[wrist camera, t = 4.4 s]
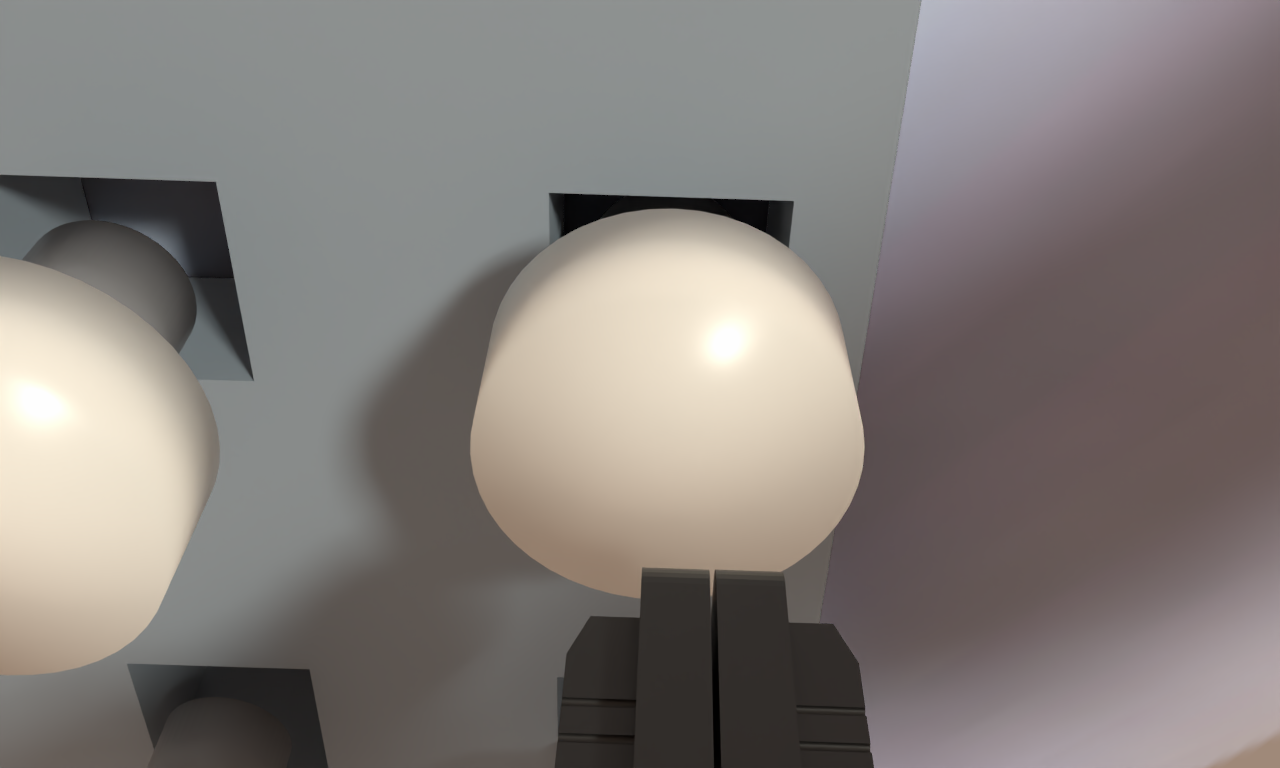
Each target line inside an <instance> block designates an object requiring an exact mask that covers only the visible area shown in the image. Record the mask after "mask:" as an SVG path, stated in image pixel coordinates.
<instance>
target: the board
mask: <svg viewBox="0 0 1280 768" xmlns="http://www.w3.org/2000/svg"><path fill="white" fill-rule="evenodd" d="M920 6H921V0H0V256H3V257H8V258H13V259H18V260H22V259H23V258H24V257H25V256H26V254H27V253H28V252H29V251H30V250H31V248H32V247H33V246H34V245H35V244H36V242H37V241H38V240H39V239H40V238H41V237H42V236H43V235H44V234H46V233H47V232H49V231H50V230H52V229H54V228H56V227H58V226H60V225H63V224H66V223H70V222H75V221H82V220H91V217H90V213H89V209H88V206H87V202H86V198H85V194H84V190H83V187H82V183H81V179H80V177H87V178H117V179H147V180H177V181H207V182H216V185H217V190H218V196H219V201H220V206H221V211H222V216H223V222H224V227H225V232H226V237H227V242H228V248H229V253H230V258H231V263H232V269H233V274H234V279H231V278H200V277H188V278H189V280H190V282H191V285H192V287H193V290H194V293H195V297H196V304H197V316H196V321H195V325H194V327H193V330H192V332H191V334H190V336H189V337H188V339H187V341H186V343H185V345H184V346H183V348H182V350H181V352H180V353H179V355H180V356H181V357H182V359H183V360H184V361H185V362H186V364H187V365H188V366H189V368H190V369H191V371H192V372H193V374H194V375H195V377H196V379H197V380H198V382H199V383H200V385H201V386H202V389H203V391H204V393H205V395H206V397H207V399H208V401H209V404H210V406H211V408H212V412H213V415H214V418H215V421H216V425H217V429H218V436H219V444H220V459H219V469H218V474H217V478H216V483H215V485H214V487H213V490H212V492H211V494H210V497H209V499H208V501H207V504H206V506H205V508H204V510H203V512H202V515H201V517H200V519H199V521H198V523H197V525H196V528H195V530H194V532H193V534H192V536H191V539H190V541H189V543H188V545H187V547H186V550H185V552H184V554H183V556H182V558H181V561H180V563H179V565H178V567H177V569H176V572H175V574H174V576H173V578H172V580H171V583H170V585H169V587H168V589H167V591H166V594H165V596H164V598H163V600H162V602H161V605H160V607H159V609H158V611H157V613H156V614H155V616H154V617H153V619H152V620H151V622H150V623H149V625H148V626H147V627H146V628H145V629H144V630H143V631H142V632H141V633H140V634H139V635H138V636H137V637H136V638H135V639H134V640H133V641H132V642H130V643H129V644H128V645H126V646H125V647H123V648H122V649H120V650H119V651H118V652H116V653H114V654H112V655H110V656H107V657H105V658H103V659H101V660H99V661H97V662H94V663H91V664H88V665H85V666H82V667H79V668H75V669H70V670H65V671H61V672H56V673H46V674H37V675H0V768H147V767H148V764H149V762H150V759H151V757H152V755H153V752H154V750H155V747H156V745H157V742H158V740H159V737H160V735H161V732H162V730H163V728H164V725H165V723H166V720H167V718H168V716H169V715H170V713H171V712H172V711H173V710H174V709H175V708H177V707H178V706H180V705H181V704H183V703H185V702H188V701H191V700H194V699H199V698H205V697H225V698H232V699H237V700H241V701H245V702H248V703H251V704H253V705H256V706H258V707H260V708H262V709H264V710H266V711H267V712H269V713H270V714H272V715H273V716H275V717H276V718H277V719H278V720H279V721H280V722H281V723H282V724H283V725H284V727H285V728H286V729H287V731H288V733H289V735H290V738H291V742H292V749H291V753H290V757H289V760H288V763H287V767H286V768H555V758H556V749H557V742H558V730H559V720H560V711H561V706H562V691H563V682H564V672H565V663H566V653H567V652H568V650H569V649H570V647H571V646H572V644H573V642H574V641H575V639H576V638H577V636H578V635H579V633H580V631H581V630H582V628H583V627H584V625H585V624H586V622H587V621H588V619H589V617H590V616H607V617H635V618H640V601H641V598H633V597H627V596H621V595H616V594H611V593H607V592H604V591H600V590H596V589H593V588H590V587H587V586H584V585H582V584H579V583H577V582H574V581H571V580H569V579H567V578H565V577H563V576H561V575H559V574H557V573H555V572H553V571H551V570H549V569H548V568H546V567H545V566H543V565H542V564H540V563H539V562H537V561H536V560H534V559H533V558H531V557H530V556H529V555H527V554H526V553H525V552H524V551H523V550H522V549H520V548H519V547H518V546H517V545H516V544H514V543H513V541H512V540H511V539H510V538H509V537H508V536H507V535H506V534H505V533H504V532H503V531H502V530H501V528H500V527H499V526H498V524H497V523H496V521H495V520H494V519H493V517H492V516H491V514H490V513H489V511H488V509H487V507H486V505H485V503H484V501H483V500H482V498H481V496H480V494H479V491H478V487H477V484H476V481H475V478H474V475H473V469H472V463H471V456H470V441H471V430H472V425H473V419H474V414H475V409H476V404H477V399H478V395H479V390H480V385H481V380H482V375H483V371H484V366H485V361H486V356H487V351H488V347H489V342H490V337H491V332H492V327H493V323H494V320H495V317H496V314H497V312H498V309H499V306H500V304H501V302H502V300H503V298H504V296H505V294H506V293H507V291H508V289H509V287H510V285H511V284H512V283H513V282H514V280H515V279H516V278H517V276H518V275H519V274H520V272H521V271H522V270H523V269H524V268H525V267H526V266H527V265H528V264H529V263H530V262H531V261H532V260H533V259H534V258H535V257H536V256H537V255H538V254H539V253H540V252H541V251H543V250H544V249H546V248H547V247H548V246H550V245H551V244H552V243H554V242H555V241H556V240H558V239H560V238H561V237H563V236H564V193H569V194H599V195H629V196H659V197H689V198H719V199H750V200H769V208H768V218H767V228H766V234H768V235H770V236H772V237H773V238H775V239H776V240H778V241H779V242H781V243H782V244H784V245H785V246H787V247H788V248H789V249H791V250H792V251H793V252H794V253H795V254H796V255H797V256H798V257H800V258H801V259H802V260H803V261H804V262H805V263H806V264H807V265H808V266H809V267H810V269H811V270H812V271H813V272H814V273H815V274H816V276H817V277H818V278H819V279H820V281H821V282H822V284H823V286H824V287H825V289H826V290H827V292H828V293H829V295H830V297H831V299H832V301H833V304H834V306H835V308H836V311H837V313H838V315H839V319H840V323H841V327H842V331H843V335H844V340H845V345H846V349H847V354H848V359H849V363H850V368H851V373H852V378H853V382H854V387H855V392H856V396H857V391H858V385H859V379H860V372H861V366H862V360H863V354H864V348H865V342H866V336H867V330H868V324H869V317H870V311H871V305H872V299H873V293H874V287H875V281H876V275H877V269H878V262H879V256H880V250H881V244H882V238H883V232H884V226H885V220H886V214H887V208H888V201H889V195H890V189H891V183H892V177H893V171H894V165H895V159H896V153H897V146H898V140H899V134H900V128H901V122H902V116H903V110H904V104H905V98H906V92H907V85H908V79H909V73H910V67H911V61H912V55H913V49H914V43H915V37H916V30H917V24H918V18H919V12H920ZM834 531H835V528H834V529H833V530H832V531H831V533H830V534H829V535H828V536H827V537H826V538H825V539H824V540H823V541H822V542H821V543H820V544H819V545H818V546H817V547H816V548H815V549H813V550H812V551H811V552H810V553H809V554H808V555H806V556H805V557H803V558H802V559H801V560H799V561H798V562H796V563H795V564H794V565H792V566H790V567H789V568H787V569H785V570H783V571H781V572H783V574H784V578H785V586H786V597H787V608H788V619H789V622H790V623H820V617H821V611H822V604H823V598H824V592H825V586H826V580H827V574H828V568H829V562H830V556H831V549H832V543H833V537H834ZM710 599H711V607H712V596H710Z"/></svg>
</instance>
